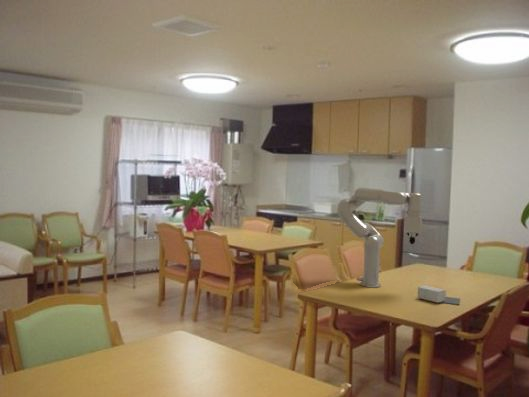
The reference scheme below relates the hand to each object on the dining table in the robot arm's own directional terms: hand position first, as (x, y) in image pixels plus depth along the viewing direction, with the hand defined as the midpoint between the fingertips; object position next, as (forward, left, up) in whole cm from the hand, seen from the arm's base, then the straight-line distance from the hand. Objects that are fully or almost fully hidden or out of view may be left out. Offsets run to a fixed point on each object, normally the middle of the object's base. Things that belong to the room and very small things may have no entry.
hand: (412, 243), depth 297 cm
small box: (+8, -12, -26) cm, 29 cm away
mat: (+20, -11, -29) cm, 37 cm away
